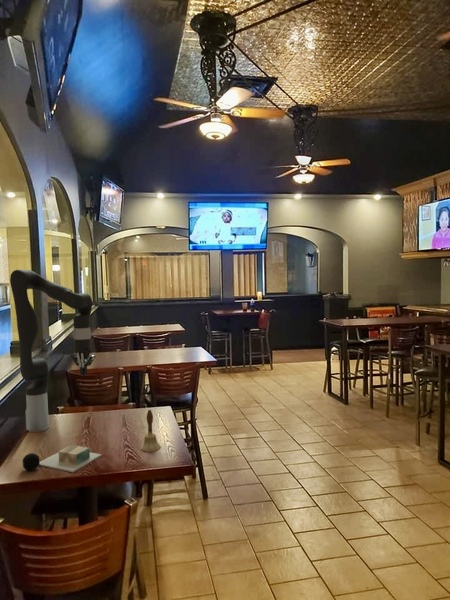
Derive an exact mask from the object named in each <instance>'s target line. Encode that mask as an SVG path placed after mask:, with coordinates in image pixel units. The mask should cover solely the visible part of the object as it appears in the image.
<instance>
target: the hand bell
mask: <svg viewBox="0 0 450 600" xmlns="http://www.w3.org/2000/svg"><path fill="white" fill-rule="evenodd" d="M153 420H154V416H153V412H152V410H151V409H148V410H147V413H146V422H147V433H146V434H145V435H144V440H143V443H142V445H141V446H140V448H139V449H140V450H141V451H142V452H149V453H150V452H156V451H158V450H160V449H161V444H159V443H158V441H157V437H156V434H155V433H154V432H153Z"/></svg>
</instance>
